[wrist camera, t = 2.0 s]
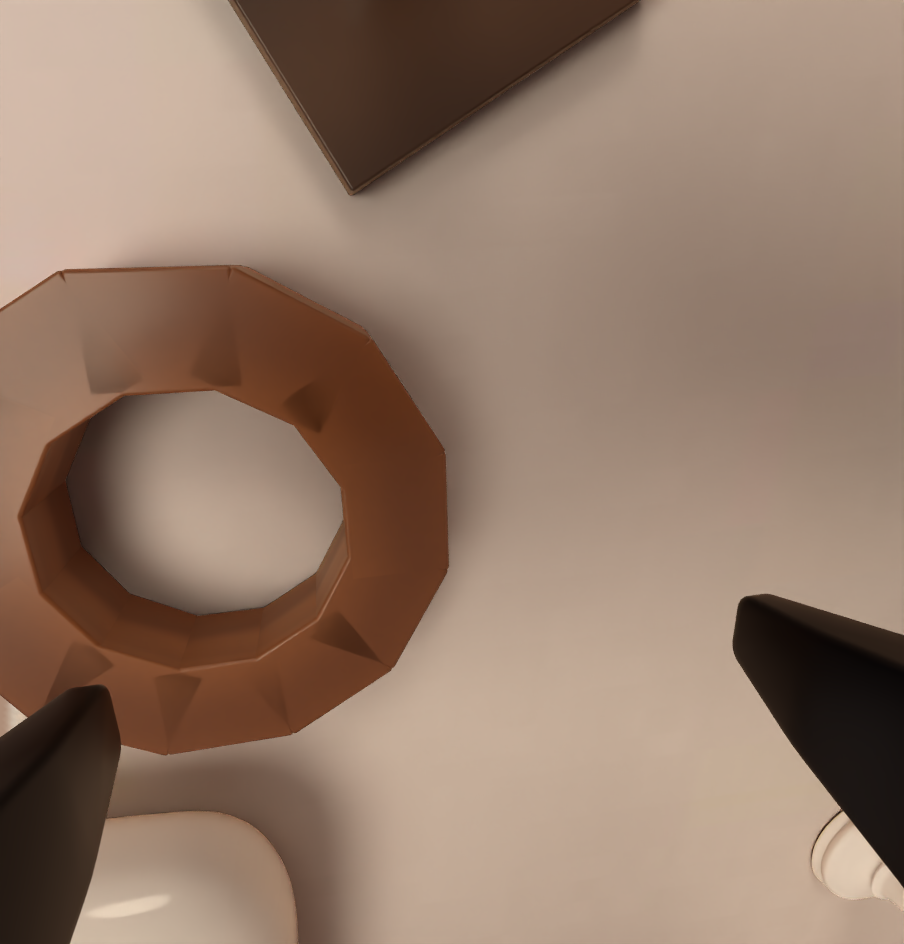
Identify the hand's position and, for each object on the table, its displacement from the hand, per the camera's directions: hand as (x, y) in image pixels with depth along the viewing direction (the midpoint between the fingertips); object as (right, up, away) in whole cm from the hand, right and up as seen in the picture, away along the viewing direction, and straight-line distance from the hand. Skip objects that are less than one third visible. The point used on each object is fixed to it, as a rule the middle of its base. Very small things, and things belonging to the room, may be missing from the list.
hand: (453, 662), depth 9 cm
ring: (-6, +2, +7) cm, 9 cm away
